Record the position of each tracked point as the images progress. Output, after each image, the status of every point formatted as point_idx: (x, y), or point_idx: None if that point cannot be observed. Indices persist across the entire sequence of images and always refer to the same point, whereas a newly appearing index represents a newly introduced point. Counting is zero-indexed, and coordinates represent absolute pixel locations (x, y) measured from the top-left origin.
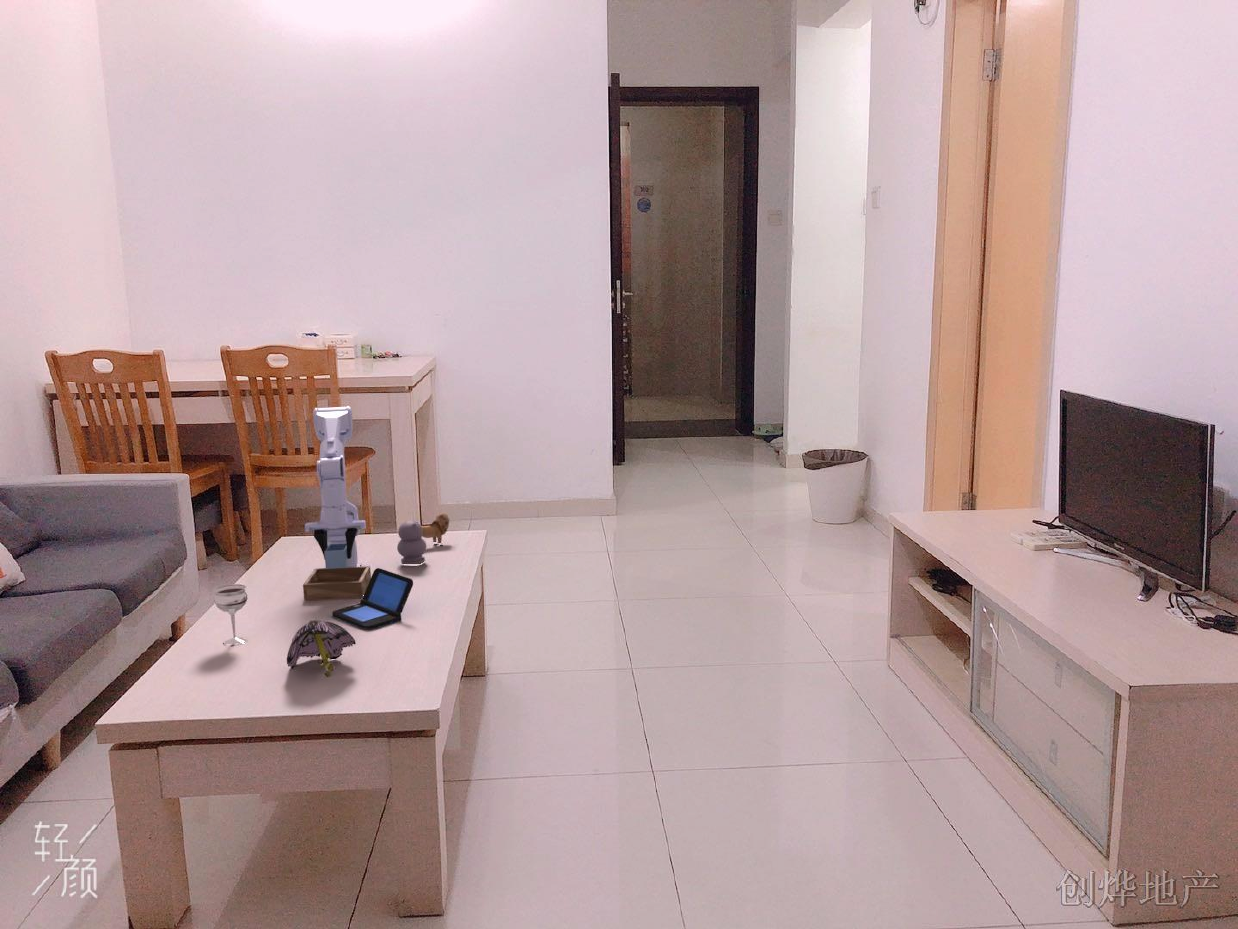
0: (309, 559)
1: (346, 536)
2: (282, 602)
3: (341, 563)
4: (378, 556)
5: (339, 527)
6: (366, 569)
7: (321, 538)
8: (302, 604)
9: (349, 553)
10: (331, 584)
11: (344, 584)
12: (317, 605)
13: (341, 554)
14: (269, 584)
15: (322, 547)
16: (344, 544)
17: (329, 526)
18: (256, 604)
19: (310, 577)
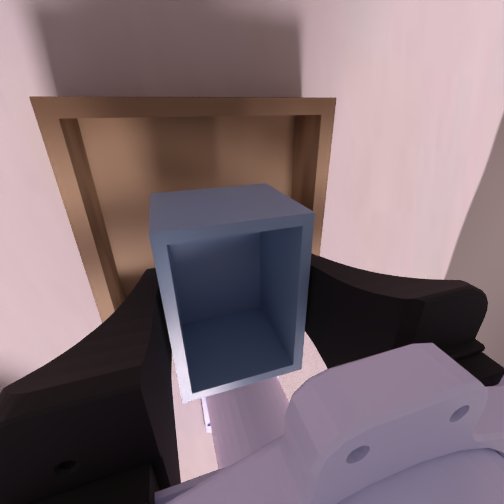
0: None
1: (132, 356)
2: (368, 94)
3: (180, 198)
4: (181, 477)
5: (248, 462)
6: (108, 314)
7: (395, 290)
8: (302, 49)
9: (142, 281)
10: (207, 97)
11: (138, 97)
12: (241, 16)
13: (180, 217)
14: (399, 272)
15: (337, 268)
16: (213, 382)
17: (475, 390)
18: (437, 85)
19: (316, 210)
